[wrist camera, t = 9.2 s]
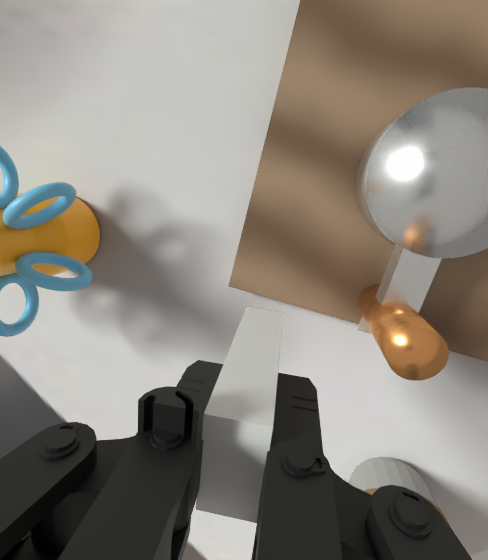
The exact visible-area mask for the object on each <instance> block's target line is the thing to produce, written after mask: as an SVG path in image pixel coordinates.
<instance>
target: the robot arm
mask: <svg viewBox="0 0 488 560" xmlns="http://www.w3.org/2000/svg"><path fill="white" fill-rule="evenodd" d="M282 323H283V312H278V311H271V310H265V309H258V308H252V307H246V309H245V311H244V314H243V316H242V319H241V321H240V324H239V326H238V329H237V331H236V334H235V336H234V339H233V341H232V344H231V347H230V349H229V352H228V354H227V357H226V359H225V362H224V364H218V363H212V362H206V361H200V360H198V361H196V362H195V363H193V364H192V365H190V366H189V367H187V369H186V371H185V372H184V374H183V376H182V378H181V379H180V381H179V383H178V384H177V387H162V388H156V389H154V390H152V391H149V392H147V393H145V394H144V395H143V396H142V397H141V398H140V399H139V400H138V432H137V434H136V436H133V437H130V438H124V439H115V440H99V441H96V435H95V432H94V430H93V429H92V428H90V427H89V426H88V425H86V424H82V423H78V422H70V423H61V424H58V425H54V426H51V427H48V428H47V429H45V430H43V431H41V432H39V433H37V434H36V435H34V436H33V437H32V438H30V439H29V440H27V441H26V442H24V443H23V444H22V445H20V446H19V447H17V448H16V449H14V450H13V451H11V452H10V453H9V454H7V455H6V456H4V457H3V458H1V459H0V560H182V556H183V553H184V550H185V546H186V543H187V540H188V536H189V532H190V522H191V514H192V511H193V508H194V505H195V501H196V498H197V501H196V509H197V510H201V511H206V512H210V513H215V514H219V515H223V516H228V517H232V518H237V519H241V520H246V521H250V522H255V523H257V527H256V534H255V540H254V547H253V553H252V559H251V560H472V559H471V557H470V556H469V554H468V553H467V551H466V550H465V548H464V547H463V545H462V544H461V542H460V541H459V539H458V538H457V537H456V535H455V534H454V532H453V531H452V529H451V528H450V526H449V525H448V523H447V522H446V520H445V519H444V517H443V516H442V515H441V514H440V512H439V511H438V510H437V509H436V508H435V507H434V506H433V504H432V503H430V502H429V501H428V500H426V499H425V498H424V497H422V496H421V495H420V494H418V493H416V492H414V491H412V490H410V489H407V488H405V487H401V486H395V485H387V486H382V487H379V488H378V489H377V490H376V491H375V492H374V493H373V495H371V494H369V493H367V492H365V491H363V490H361V489H358V488H356V487H354V486H352V485H351V484H349V483H347V482H346V481H344V480H343V479H341V478H340V477H339V476H338V475H337V474H335V473H334V471H333V470H332V469H331V468H330V465H329V462H328V460H327V459H326V457H325V456H324V454H323V448H322V438H321V428H320V419H319V413H318V411H319V409H318V403H317V402H318V399H317V390H316V388H315V386H314V385H313V384H312V382H311V381H310V379H309V378H305V377H299V376H293V375H288V374H282V373H278V367H279V356H280V345H281V334H282Z"/></svg>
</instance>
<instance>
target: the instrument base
mask: <svg viewBox="0 0 488 560" xmlns="http://www.w3.org/2000/svg"><path fill="white" fill-rule="evenodd" d="M466 87H475V88H485V89H488V0H300V4H299V8H298V12H297V16H296V20H295V24H294V28H293V32H292V36H291V40H290V44H289V48H288V52H287V56H286V60H285V64H284V68H283V72H282V76H281V80H280V84H279V88H278V92H277V96H276V100H275V104H274V108H273V112H272V116H271V120H270V124H269V128H268V132H267V135H266V139H265V143H264V147H263V151H262V155H261V159H260V163H259V167H258V171H257V175H256V179H255V183H254V187H253V191H252V195H251V199H250V203H249V207H248V211H247V215H246V219H245V223H244V227H243V231H242V235H241V239H240V243H239V247H238V251H237V255H236V259H235V263H234V267H233V271H232V275H231V279H230V283H229V286H230V287H233V288H237V289H240V290H243V291H247V292H250V293H254V294H257V295H261V296H264V297H268V298H271V299H274V300H278V301H281V302H285V303H288V304H292V305H295V306H299V307H302V308H305V309H309V310H312V311H316V312H319V313H323V314H326V315H330V316H333V317H336V318H340V319H343V320H347V321H350V322H354V323H357V324H359V326H358V329H357V330H360V331H363V332H367V333H371V331H370V329H369V327H368V325H367V323H366V321H365V320H364V318H363V316H362V314H361V312H360V310H359V308H358V298H359V296H360V294H361V292H362V291H363V290H364V289H365V288H366V287H368V286H370V285H373V284H379V283H381V281H382V278H383V276H384V273H385V270H386V268H387V265H388V263H389V260H390V257H391V255H392V252H393V250H394V247H395V243H393V242H391V241H389V240H387V239H385V238H384V237H382V236H381V235H379V234H378V233H376V232H375V231H374V230H373V229H372V228H371V227H370V226H369V224H368V223H367V222H366V220H365V219H364V217H363V216H362V214H361V211H360V209H359V206H358V203H357V199H356V192H355V181H356V174H357V170H358V166H359V163H360V160H361V158H362V155H363V154H364V152H365V150H366V148H367V147H368V145H369V144H370V142H371V141H372V140H373V138H374V137H375V136H376V135H377V134H378V133H379V132H380V131H381V130H382V129H383V128H384V127H386V126H387V125H388V124H390V123H391V122H392V121H394V120H395V119H396V118H398V117H399V116H401V115H402V114H403V113H405V112H406V111H407V110H409V109H410V108H412V107H413V106H415V105H416V104H418V103H419V102H421V101H423V100H425V99H427V98H428V97H430V96H433V95H436V94H438V93H441V92H444V91H448V90H452V89H458V88H466ZM418 314H419V315H420V316H421V317H422V318H423V319H424V320H425V321H426V322H427V323H428V324H429V325H430V326H431V327H432V328H433V329H434V330H435V331H437V332H438V333H439V334H440V335H441V336H442V338H443V339H444V340H445V342H446V344H447V346H448V350H450V351H454V352H457V353H460V354H464V355H467V356H471V357H474V358H478V359H481V360H485V361H488V248H487V249H485V250H482V251H480V252H477V253H474V254H471V255H467V256H463V257H457V258H442V259H441V262H440V264H439V266H438V269H437V271H436V273H435V276H434V278H433V280H432V283H431V285H430V287H429V290H428V292H427V294H426V297H425V299H424V301H423V304H422V306H421V308H420V311H419V313H418Z"/></svg>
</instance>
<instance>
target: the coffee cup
mask: <svg viewBox="0 0 488 560" xmlns="http://www.w3.org/2000/svg"><path fill="white" fill-rule="evenodd" d="M348 483H349V484H351V485H352V486H354V487H356V488H358V489H361V490H363V491H365V492H367V493H369V494H371V495H373V493H374V492H375V491H376V490H377V489H378V488H379V487H382V486H387V485H395V486H401V487H405V488H407V489H410V490H412V491H414V492H416V493H418V494H420V495H421V496H422V497H424V498H425V499H426V500H428V501H429V502H430V503H432V504H433V506H434V507H435V508H436V509H437V510H438V511H439V512H440V514H441V515H442V516H443V517H444V519H445V520H446V518H445V516H444V515H443V513H442V512H441V510H440V508H439V507H438V505H437V503H436V501H435V500H434V498H433V496H432V494H431V492H430V490H429V488H428V486H427V485H426V483H425V481H424V480H423V478H422V476H421V475H420V474H419V473H418V472H417V471H416V470H414V469H413V468H412V467H410V466H409V465H408V464H406V463H404V462H402V461H400V460H397V459H394V458H386V457H379V458H373V459H370V460H367V461H365V462H363V463H362V464H360V465H359V466H357V468H356V469H355V470H354V471H353V473H352V475H351V477H350V480H349V482H348ZM446 522H447V520H446ZM447 523H448V522H447ZM448 525H449V523H448ZM449 526H450V525H449ZM450 528H451V527H450Z"/></svg>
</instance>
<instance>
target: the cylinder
mask: <svg viewBox="0 0 488 560" xmlns="http://www.w3.org/2000/svg"><path fill="white" fill-rule="evenodd" d="M0 167H1V169H2V172H3V176H4V187H3V191H2V193H1V194H0V291H1V289H2V288H3V287H4V286H5V285H7V284H9V283H17V284H18V285H20V286H21V287H22V289H23V290H24V293H25V296H26V306H25V310H24V313H23V315H22V316H21V318H20V319H19V320H18V321H17V322H15V323H13V324H5V323H3V322H2V321H1V320H0V336H6V337H8V336H14V335H17V334H20V333H22V332H23V331H25V330H26V329H27V328H28V327H29V326H30V325H31V323H32V322H33V320H34V319H35V317H36V314H37V311H38V306H39V295H38V291H37V288H36V286H39V287H42V288H45V289H50V290H56V291H76V290H81V289H84V288H86V287H87V286H89V285H90V284H91V282H92V280H93V275H92V272H91V270H90V269H89V268H88V267H87V266H86V265H84V264H86V263H87V262H89V261H90V260H91V259H92V258H93V256H94V255H95V253H96V252H97V249H98V247H99V243H100V229H99V224H98V221H97V219H96V217H95V215H94V213H93V212H92V210H91V209H90V208H89V207H88V205H87V204H85V203H84V202H83V201H82V200H80V199H78V198H77V197H76V190H75V189H74V187H73V186H72V185H70V184H68V183H63V182H55V183H49V184H45V185H42V186H39V187H36V188H34V189H32V190H30V191H28V192H26V193H18V187H19V180H18V174H17V170H16V167H15V165H14V163H13V161H12V159H11V158H10V156H9V155H8V154H7V152H6V151H5V150H4V149H3V148H2V147H1V146H0ZM68 270H72V271H74V272H75V273H77V274H78V275H79V277H77V278H59V277H53V276H54V275H57V274H60V273H62V272H65V271H68ZM35 285H36V286H35Z"/></svg>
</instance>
